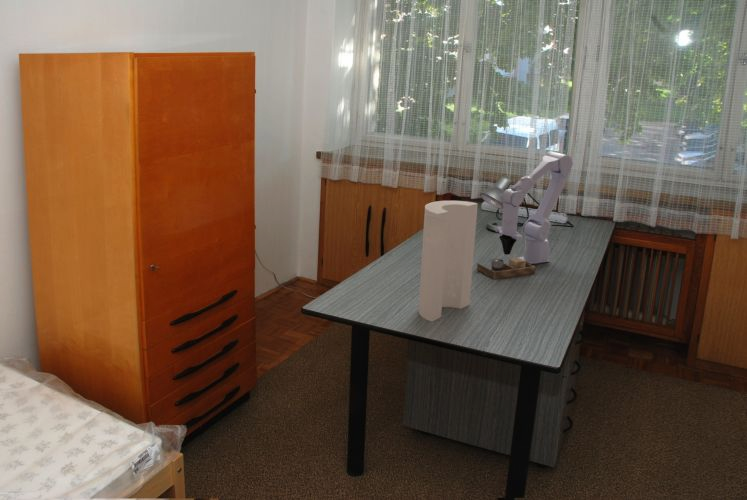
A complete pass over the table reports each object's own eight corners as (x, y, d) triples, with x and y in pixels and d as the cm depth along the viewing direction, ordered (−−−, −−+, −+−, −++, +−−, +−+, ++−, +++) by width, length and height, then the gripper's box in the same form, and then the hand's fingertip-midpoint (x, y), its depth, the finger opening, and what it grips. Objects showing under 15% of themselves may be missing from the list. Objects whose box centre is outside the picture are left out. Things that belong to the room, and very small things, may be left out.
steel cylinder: (497, 270, 282) (499, 258, 281) (504, 274, 278) (505, 261, 277) (488, 271, 280) (489, 259, 279) (495, 275, 277) (496, 262, 275)
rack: (516, 264, 290) (517, 258, 290) (534, 273, 281) (535, 266, 280) (476, 269, 282) (477, 263, 282) (494, 278, 273) (494, 272, 272)
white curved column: (471, 305, 246) (433, 322, 231) (444, 296, 253) (405, 312, 238) (480, 203, 235) (440, 214, 220) (451, 197, 243) (411, 207, 227)
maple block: (517, 268, 286) (518, 257, 284) (524, 272, 282) (525, 260, 281) (508, 269, 284) (509, 258, 282) (515, 273, 280) (516, 262, 279)
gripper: (490, 216, 288) (487, 249, 292) (512, 226, 275) (509, 260, 280) (505, 215, 291) (502, 247, 295) (528, 224, 279) (524, 258, 283)
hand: (506, 253), depth 287 cm, fingers closed
